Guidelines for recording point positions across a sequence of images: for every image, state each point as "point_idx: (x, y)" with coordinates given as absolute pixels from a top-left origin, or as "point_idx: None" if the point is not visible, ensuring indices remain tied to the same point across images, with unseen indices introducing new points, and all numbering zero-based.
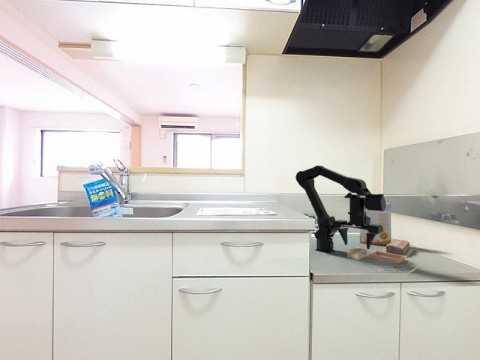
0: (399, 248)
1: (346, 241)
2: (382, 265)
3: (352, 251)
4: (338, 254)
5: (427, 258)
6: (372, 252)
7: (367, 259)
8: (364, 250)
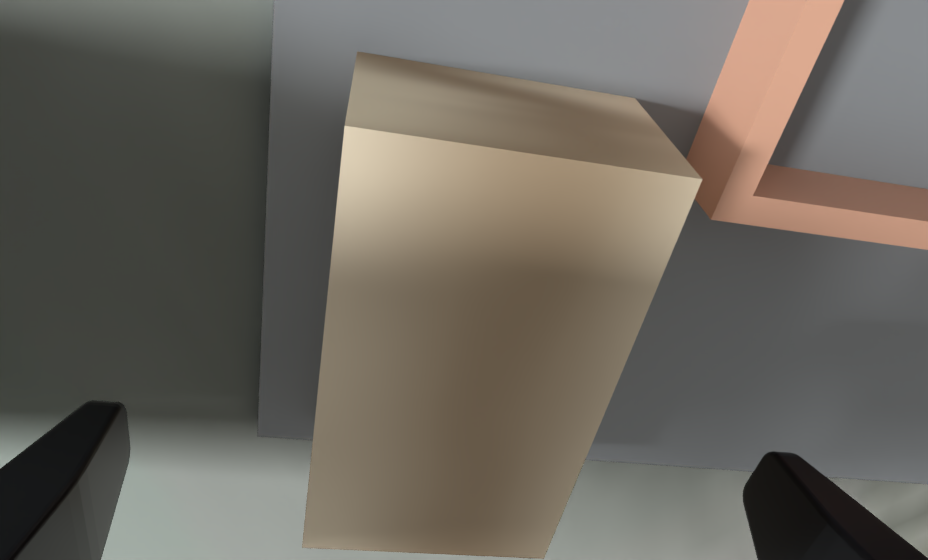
0: None
1: (84, 534)
2: (875, 462)
3: (422, 549)
4: (25, 264)
5: None
6: (817, 2)
7: (661, 323)
8: (639, 313)
